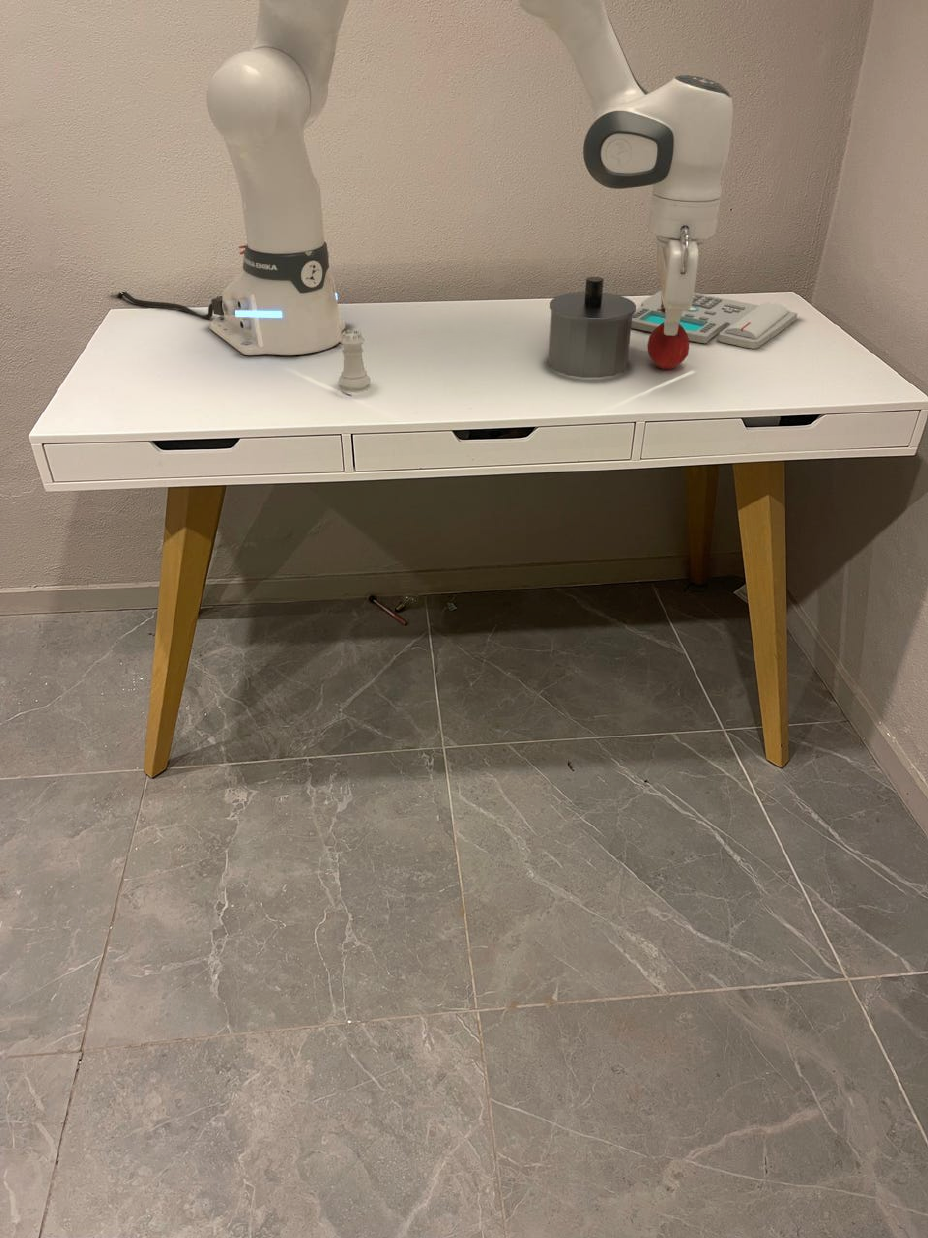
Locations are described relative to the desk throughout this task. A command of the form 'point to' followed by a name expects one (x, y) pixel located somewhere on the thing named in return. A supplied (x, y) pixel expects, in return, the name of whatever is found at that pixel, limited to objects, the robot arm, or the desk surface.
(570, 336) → the pot
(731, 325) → the office telephone
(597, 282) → the lid
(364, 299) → the desk surface
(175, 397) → the desk surface
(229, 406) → the desk surface
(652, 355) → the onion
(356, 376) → the rook chess piece
